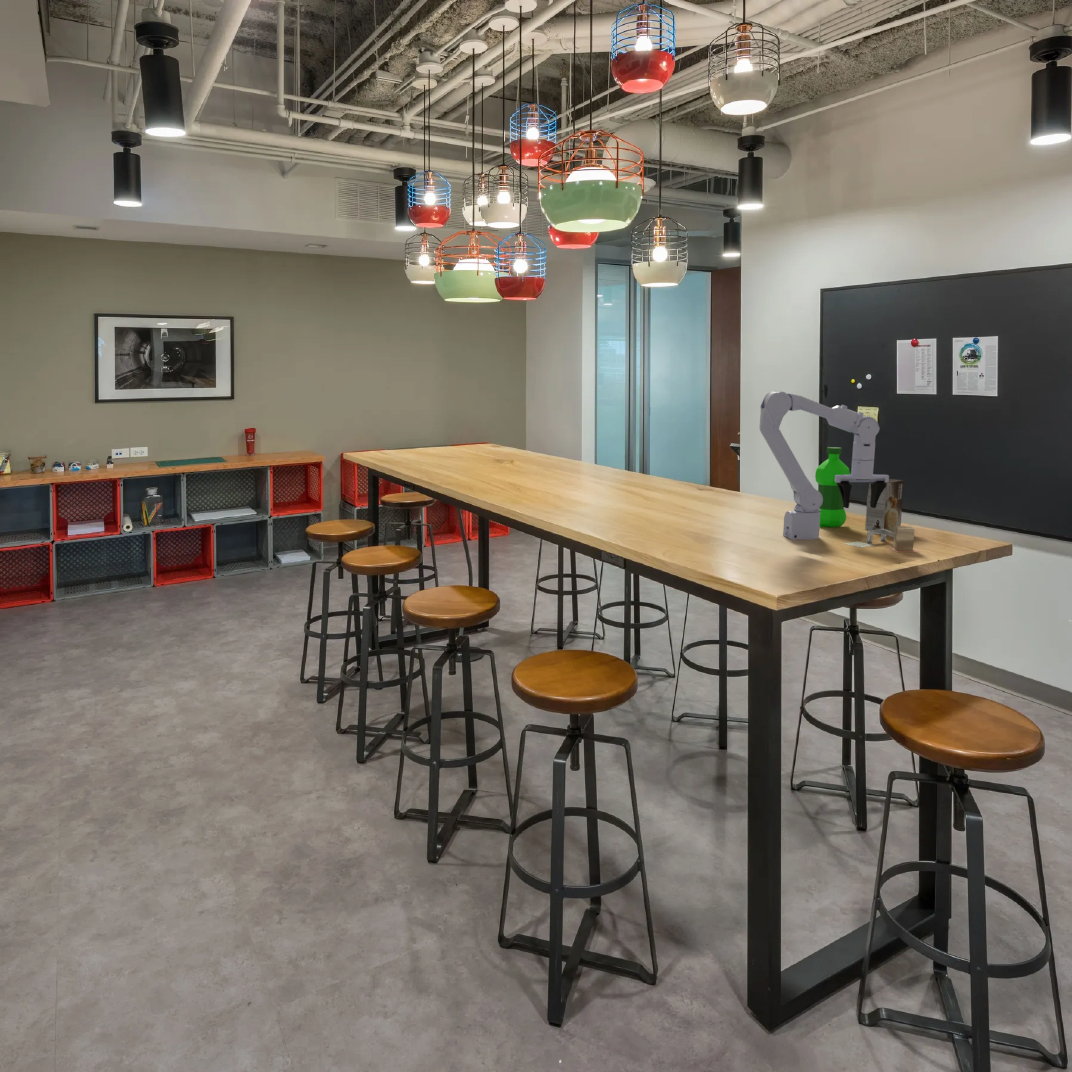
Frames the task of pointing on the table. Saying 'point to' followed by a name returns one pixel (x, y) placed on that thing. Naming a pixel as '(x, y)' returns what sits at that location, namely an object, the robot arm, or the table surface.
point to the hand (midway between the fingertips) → (859, 507)
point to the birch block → (903, 538)
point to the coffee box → (885, 507)
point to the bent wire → (880, 531)
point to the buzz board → (861, 544)
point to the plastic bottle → (831, 489)
